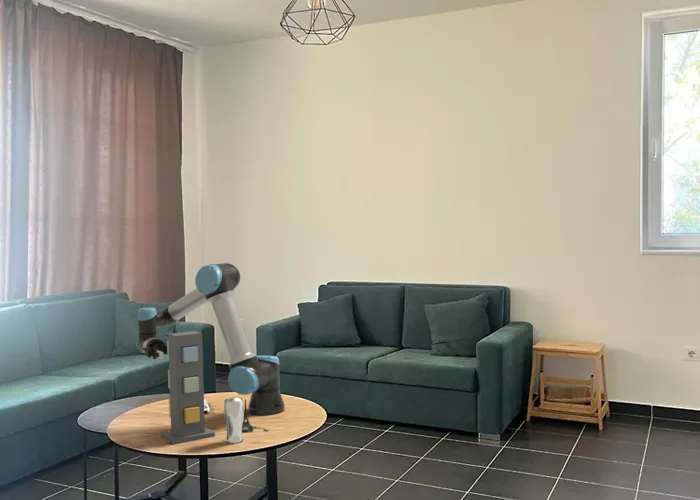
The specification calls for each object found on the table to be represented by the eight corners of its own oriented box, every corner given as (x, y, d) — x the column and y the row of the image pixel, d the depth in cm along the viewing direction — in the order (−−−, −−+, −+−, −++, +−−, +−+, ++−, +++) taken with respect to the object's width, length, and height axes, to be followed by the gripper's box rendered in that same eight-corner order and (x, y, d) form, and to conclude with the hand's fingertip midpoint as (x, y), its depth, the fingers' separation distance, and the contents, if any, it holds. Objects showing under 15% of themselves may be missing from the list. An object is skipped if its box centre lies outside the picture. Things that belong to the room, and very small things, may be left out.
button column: (161, 436, 251) (158, 333, 250) (203, 429, 260) (200, 329, 259) (171, 444, 241) (168, 337, 240) (214, 436, 250) (211, 333, 249)
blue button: (167, 359, 257) (167, 340, 257) (185, 357, 261) (185, 338, 260) (182, 365, 243) (181, 346, 243) (200, 363, 247) (200, 343, 246)
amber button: (169, 417, 257) (168, 398, 257) (187, 414, 261) (186, 396, 261) (183, 426, 243) (183, 407, 243) (202, 423, 247) (202, 404, 247)
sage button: (168, 388, 257) (167, 369, 257) (186, 385, 261) (186, 367, 261) (182, 396, 243) (182, 376, 243) (201, 393, 247) (201, 374, 247)
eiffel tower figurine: (271, 432, 255) (270, 396, 255) (250, 438, 248) (249, 402, 247) (244, 425, 265) (243, 391, 265) (224, 431, 258) (223, 396, 257)
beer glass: (225, 438, 246) (224, 397, 246) (245, 437, 247) (244, 396, 247) (223, 444, 239) (222, 402, 239) (243, 443, 240) (242, 401, 240)
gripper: (178, 353, 288) (197, 361, 269) (130, 359, 277) (146, 367, 258) (177, 336, 288) (196, 342, 269) (130, 340, 277) (146, 348, 258)
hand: (172, 354), depth 263 cm, fingers open, 7 cm apart
